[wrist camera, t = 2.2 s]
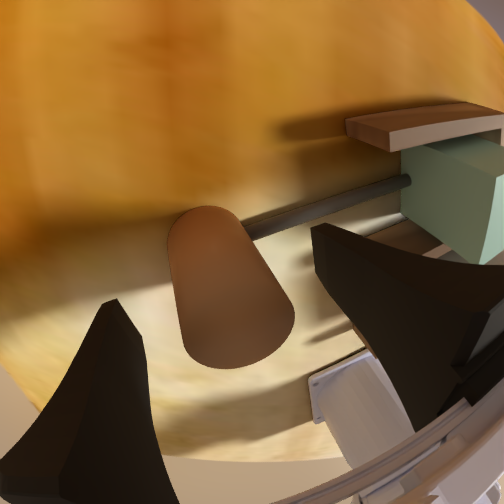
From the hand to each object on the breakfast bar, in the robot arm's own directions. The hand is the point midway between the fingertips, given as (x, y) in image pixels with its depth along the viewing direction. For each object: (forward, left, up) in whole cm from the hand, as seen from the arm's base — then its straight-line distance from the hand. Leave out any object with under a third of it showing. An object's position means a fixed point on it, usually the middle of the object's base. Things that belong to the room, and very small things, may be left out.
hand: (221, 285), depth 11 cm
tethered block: (0, -7, -3) cm, 7 cm away
